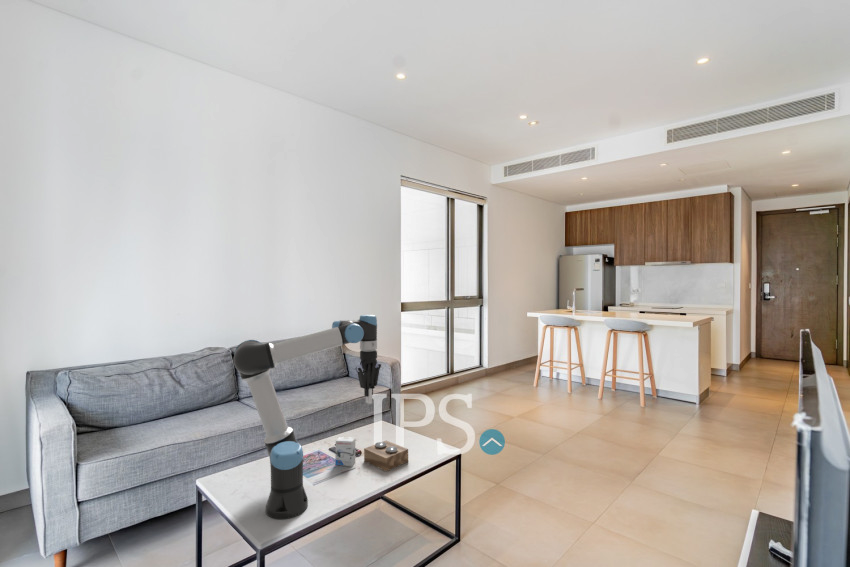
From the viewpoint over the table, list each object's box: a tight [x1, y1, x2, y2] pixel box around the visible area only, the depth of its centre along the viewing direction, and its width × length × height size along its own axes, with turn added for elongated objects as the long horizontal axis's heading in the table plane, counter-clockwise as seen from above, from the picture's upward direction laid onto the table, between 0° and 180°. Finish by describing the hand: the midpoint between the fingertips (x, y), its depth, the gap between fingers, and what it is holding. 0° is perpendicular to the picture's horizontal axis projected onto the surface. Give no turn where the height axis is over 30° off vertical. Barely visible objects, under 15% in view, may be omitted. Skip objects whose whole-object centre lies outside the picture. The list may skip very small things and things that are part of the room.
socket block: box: [363, 440, 409, 472], centre depth 200 cm, size 14×16×6 cm
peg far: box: [374, 441, 386, 449], centre depth 203 cm, size 5×5×7 cm
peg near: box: [386, 446, 397, 454], centre depth 197 cm, size 5×5×7 cm
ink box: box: [334, 436, 356, 467], centre depth 197 cm, size 9×5×12 cm, turn 84°
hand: (368, 403), depth 185 cm, fingers closed
